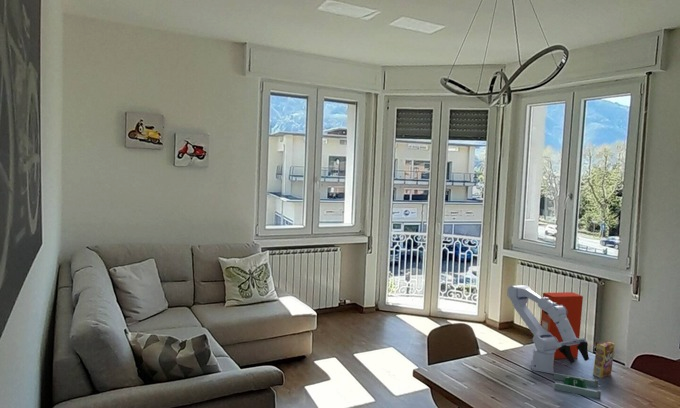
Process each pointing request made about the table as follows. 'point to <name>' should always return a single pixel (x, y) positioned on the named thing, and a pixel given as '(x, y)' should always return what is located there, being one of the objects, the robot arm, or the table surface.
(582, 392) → the pair of grey bars
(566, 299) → the file binder
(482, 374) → the table surface
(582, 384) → the dark green curved piece
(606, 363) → the candy box
